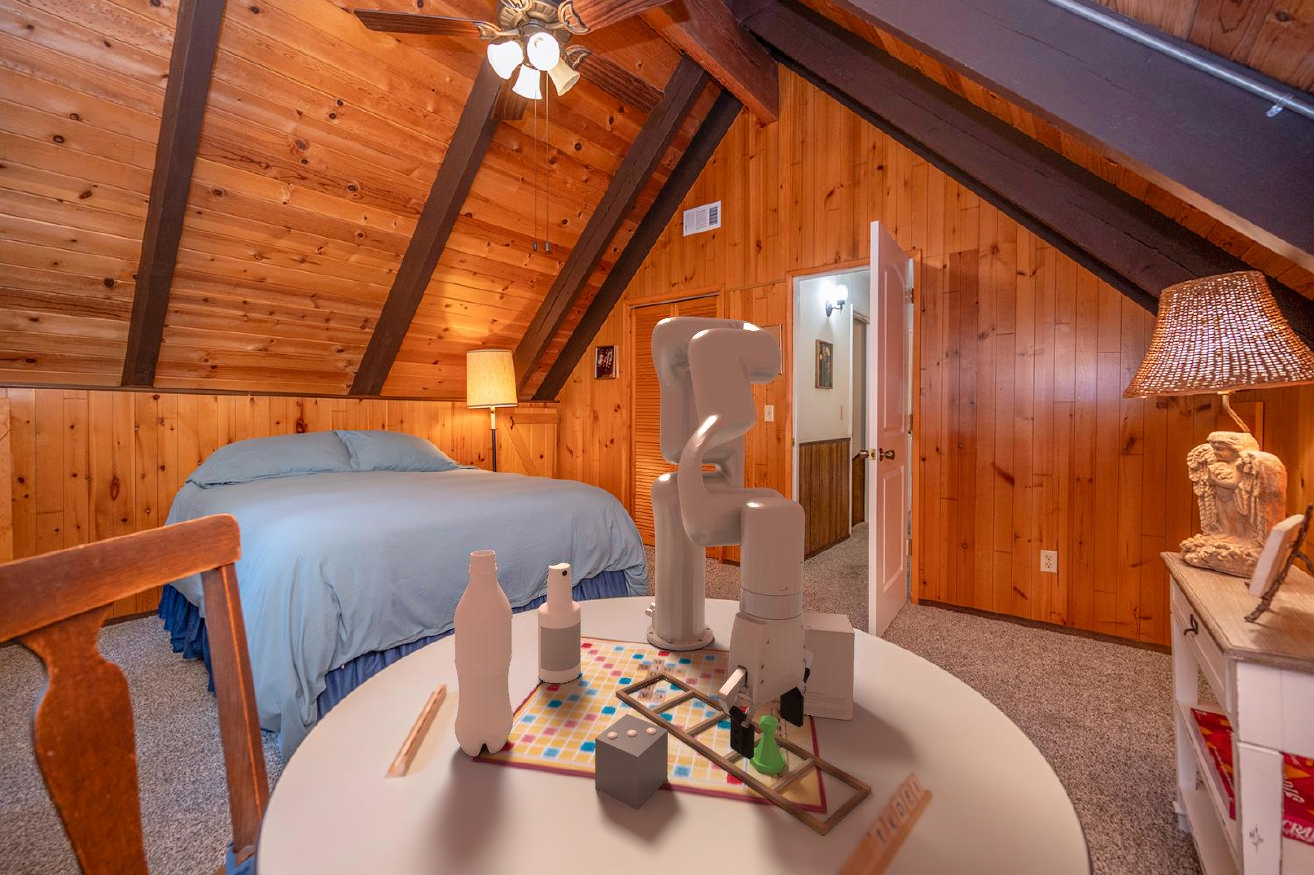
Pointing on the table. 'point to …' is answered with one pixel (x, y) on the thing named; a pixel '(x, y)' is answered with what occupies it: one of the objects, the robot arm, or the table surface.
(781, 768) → the game piece
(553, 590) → the spray bottle
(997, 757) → the table surface
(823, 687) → the supplement box
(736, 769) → the track board
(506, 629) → the water bottle
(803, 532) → the robot arm
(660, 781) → the die
